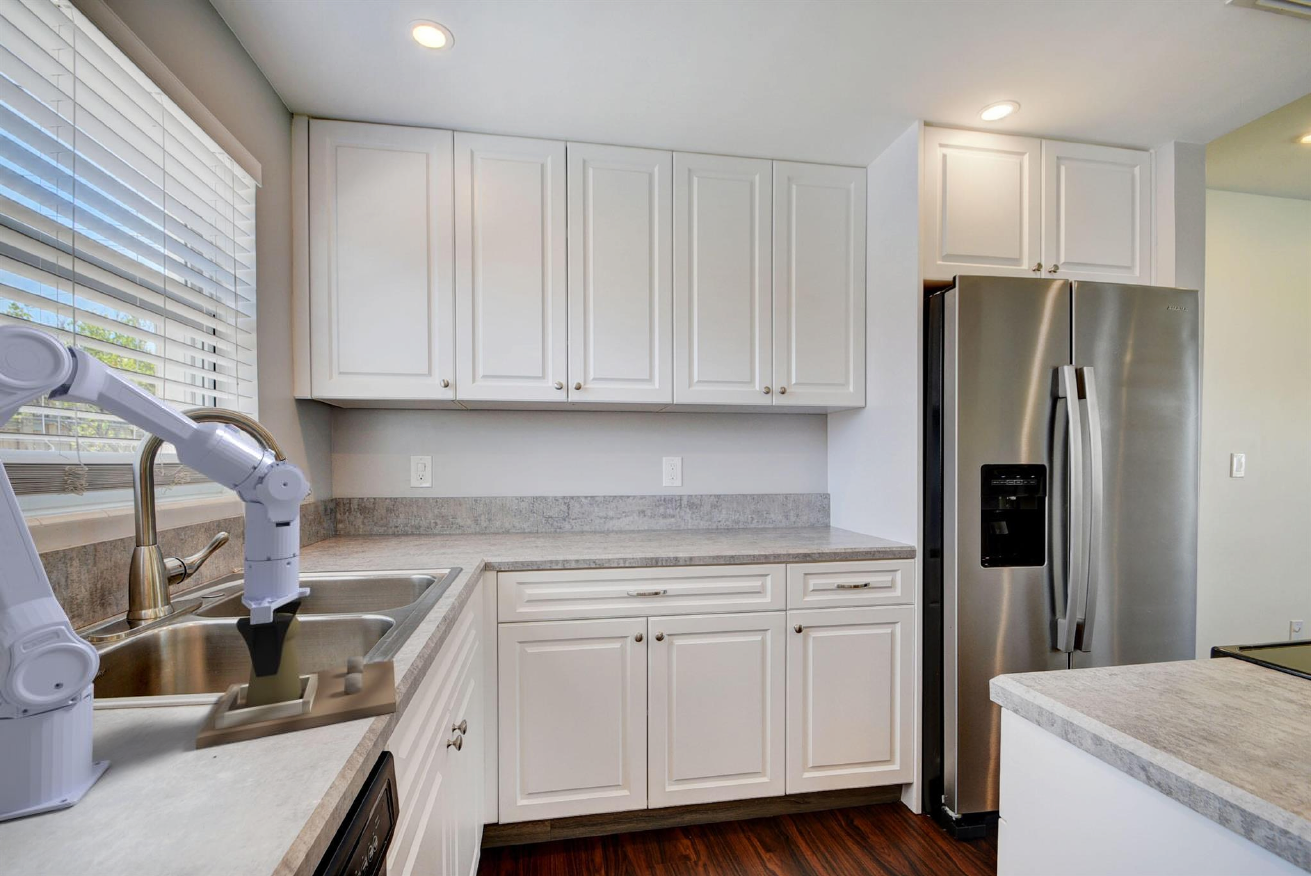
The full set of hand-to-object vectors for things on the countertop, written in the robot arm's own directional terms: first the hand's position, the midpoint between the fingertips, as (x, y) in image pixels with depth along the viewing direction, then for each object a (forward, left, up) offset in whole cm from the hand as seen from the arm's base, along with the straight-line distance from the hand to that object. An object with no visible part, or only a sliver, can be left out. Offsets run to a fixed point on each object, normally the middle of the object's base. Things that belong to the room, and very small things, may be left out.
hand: (271, 666), depth 70 cm
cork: (0, 0, -5) cm, 5 cm away
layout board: (+4, +2, -6) cm, 7 cm away
